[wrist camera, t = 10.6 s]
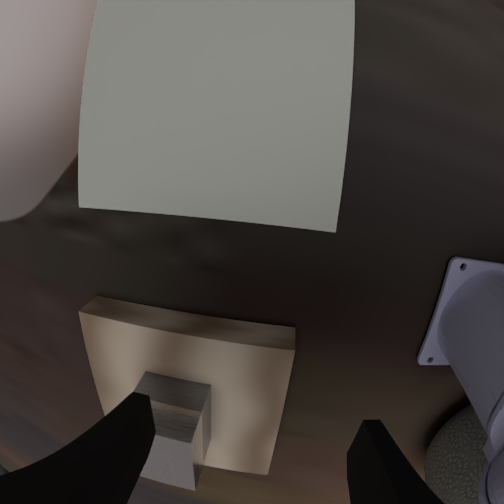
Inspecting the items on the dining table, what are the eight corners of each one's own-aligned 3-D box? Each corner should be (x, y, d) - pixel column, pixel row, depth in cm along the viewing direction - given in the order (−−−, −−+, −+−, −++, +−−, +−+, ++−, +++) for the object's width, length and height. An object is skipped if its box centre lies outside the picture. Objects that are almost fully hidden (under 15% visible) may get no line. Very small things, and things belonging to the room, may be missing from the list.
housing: (211, 384, 19) (190, 443, 14) (210, 438, 21) (195, 490, 16) (145, 370, 19) (114, 422, 15) (154, 425, 21) (132, 473, 17)
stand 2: (295, 327, 20) (295, 350, 17) (269, 453, 24) (267, 474, 22) (97, 295, 21) (78, 311, 19) (123, 422, 26) (113, 440, 23)
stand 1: (347, -11, 13) (354, -30, 10) (329, 220, 17) (335, 232, 15) (121, -5, 14) (102, -18, 12) (101, 199, 19) (79, 207, 16)
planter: (521, 351, 18) (582, 434, 8) (518, 423, 21) (552, 491, 11) (400, 420, 22) (426, 529, 11) (422, 474, 24) (439, 553, 14)
